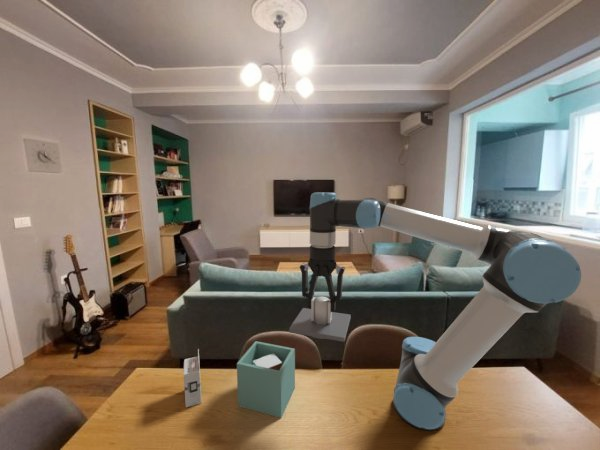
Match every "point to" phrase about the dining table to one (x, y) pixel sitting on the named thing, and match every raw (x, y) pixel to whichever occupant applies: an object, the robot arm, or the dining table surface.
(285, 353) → the box
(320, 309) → the lid
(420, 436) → the dining table surface
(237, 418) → the dining table surface
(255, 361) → the small box
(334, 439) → the dining table surface
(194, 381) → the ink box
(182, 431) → the dining table surface
